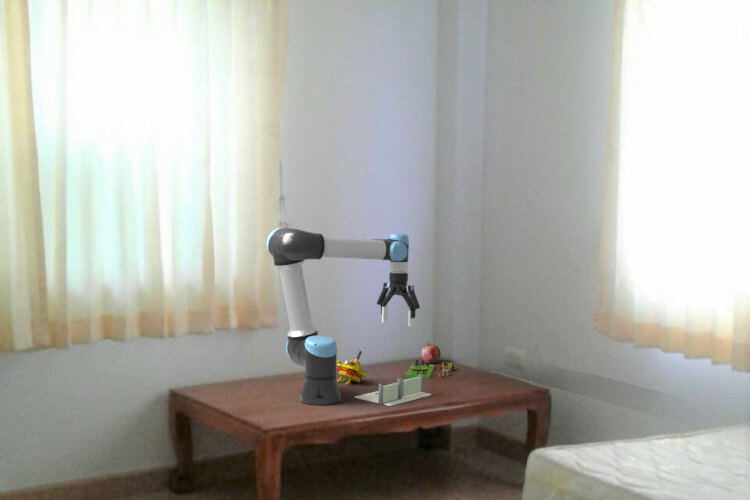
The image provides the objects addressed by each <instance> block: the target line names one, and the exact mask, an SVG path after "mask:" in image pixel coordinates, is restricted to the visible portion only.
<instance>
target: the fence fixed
mask: <svg viewBox="0 0 750 500" xmlns="http://www.w3.org/2000/svg"><path fill="white" fill-rule="evenodd" d="M403 380H404V379H403V377H398V378H397V381H396V382H395V383H394V382H393V383H390V384H386V385H384V384H383V383H379V384H378V391H379V403H378V405H379V406H382V405H383V403H385V402H389V401H393V400H397V399H402V382H403ZM383 406H384V405H383Z"/></svg>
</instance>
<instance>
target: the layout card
mask: <svg viewBox="0 0 750 500" xmlns="http://www.w3.org/2000/svg"><path fill="white" fill-rule="evenodd" d="M429 396H432V393H427V392H420V393H416V394H413V395H409V396H405V397H402V399H397V400H393V401H389V402H385V403H383V406H388V407H391V406H396V405H400V404H404V403H407V402H411V401H415V400H417V399H421V398H422V397H423V398H427V397H429ZM354 399H358V400H363V401H367V402H371V403H375V404H379V390H376V391H373V392H368V393H364V394H359V395H356V396H354Z"/></svg>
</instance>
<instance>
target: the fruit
mask: <svg viewBox="0 0 750 500" xmlns="http://www.w3.org/2000/svg"><path fill="white" fill-rule="evenodd" d="M441 356H442V354H441V350H440V348H439V346H437V345H435V344H431V342H430V341H428V342H427V343H426V345H425V346H424V347H422V349H421V352H420V358H421V361H422V360H424V364H432V363H436V362H437V361H439V360H440V359H441Z"/></svg>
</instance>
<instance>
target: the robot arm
mask: <svg viewBox="0 0 750 500" xmlns="http://www.w3.org/2000/svg"><path fill="white" fill-rule="evenodd" d="M409 241H410V240H409V235H408V234H406V233H390V235H389V238H387V239H386V238H385V239H384V238H370V239H366V238H350V237H335V236H324V235H323V234H322V233H318V232H317V233H315V232H310V231H306V230H302V229H298V228H292V227H291V228H290V227H288V226H286V227H285V226H284V227H278V228H276V229H274V230H273V231H271V233H269V235H268V237H267V239H266V249H267V251H268V253H269V254H270V255H271V256H272V258H273V259H272V260H273V264H274V267H275V268H277V269H278V270H279V275H280V280H281V281H280V282H281V285H282V290H283V297H284V302H285V307H286V313H287V318H288V323H289V328H290V329H289V330H288V332H287V335H286V336H287V341H286V345H285V351H286V354H287V356H288V358H289V359H290V360H291V361H292V362H293V363H294V364H296V365H298V366H302V367H304V383H303V385H302V389H301V392H300V395H299V396H300V397H299V400H300V402H301V403H304V404H307V405H313V406H316V405H317V406H326V405H334V404H338V403H340V402H341V400H342V398H341V397H342V394H341V392H340V388H339V385H338V382H337V366H336V363H337V352H338V348H337V343H336V340H335V339H334V338H333V337H330V336H325V335H319V331H318V328H317V327H315V326H314V325H313V321H312V316H311V311H310V310H311V309H310V304H309V299H308V293H307V289H306V288H307V287H306V282H305V277H304V273H303V272H304V271H303V266H302V265H303V264H304V262H305V260H319V261H320V260H322V258H334V259H335V258H337V259H357V260H358V259H359V260H360V259H361V260H374V261H375V260H376V261H377V260H378V261H379V260H381V261H389V268H388V269H389V271H390V272H389V273H388V275H389V276H388V277H389V278H388V279H389V282H383V286H382V290H381V292H380V295H379V297H378V300H377V301H376V304H377V305H379V306H380V315H381V323H388V321H389V320H388V317H389V316H388V313H389V310H388V309H389V307H388V304H389V302H390V301H391V300H392V298H393V297H394V295H395V296H401V297H402V298H403V300H404V302H405V303H406V304H407V306H408V307H409V308H408V315H407V317H408V319H407V320H408V321H407V325H408V326H407V327H414V326H415V318H416V310H419V309H421V307H420V304H419V301H418V298H417V295H416V292H415V288H414V287H415V286H414V285H413V284H411V285H410V284H409V285H408V281H409V273H408V271H409V253H410V251H409V250H410V244H409V243H410V242H409Z"/></svg>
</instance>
